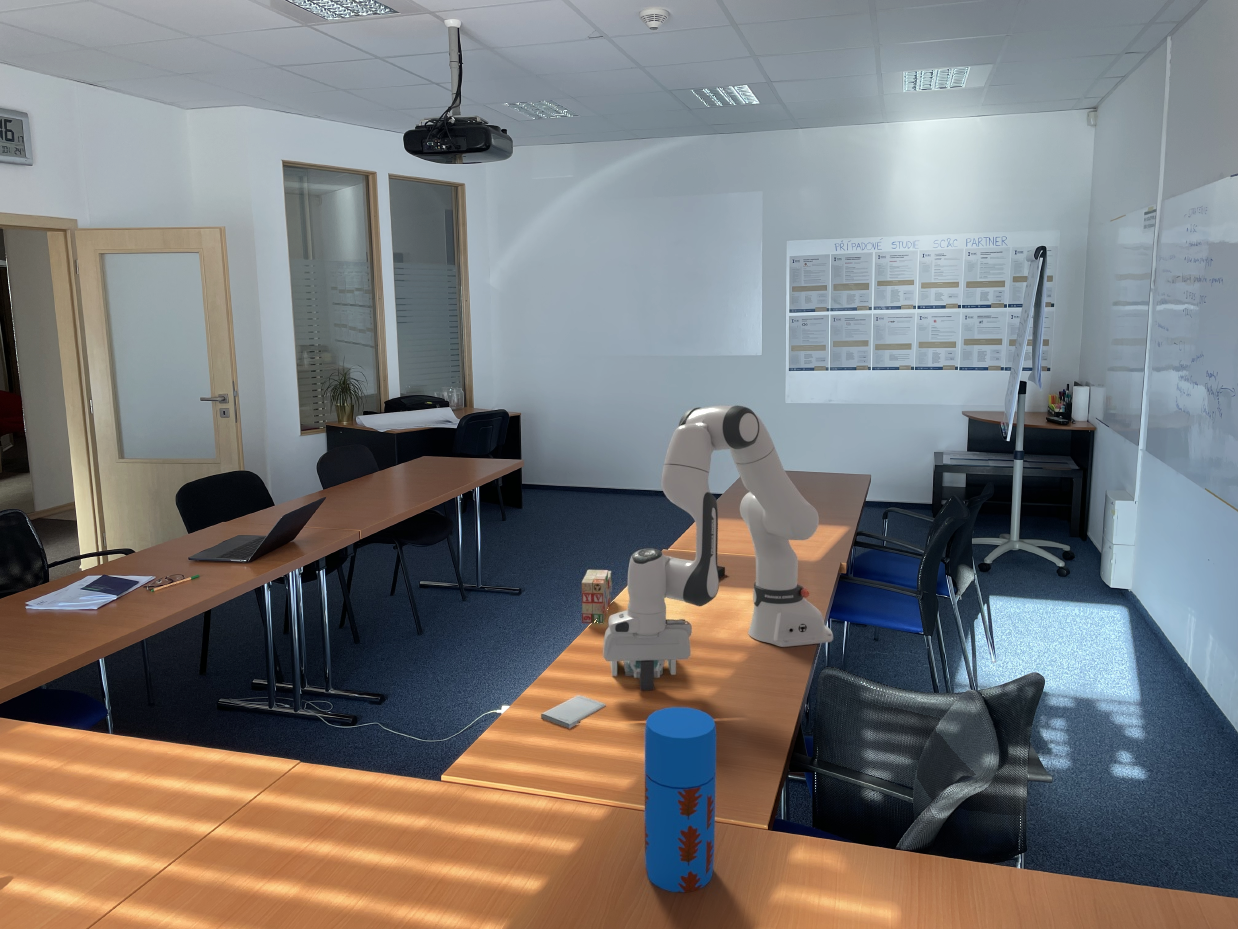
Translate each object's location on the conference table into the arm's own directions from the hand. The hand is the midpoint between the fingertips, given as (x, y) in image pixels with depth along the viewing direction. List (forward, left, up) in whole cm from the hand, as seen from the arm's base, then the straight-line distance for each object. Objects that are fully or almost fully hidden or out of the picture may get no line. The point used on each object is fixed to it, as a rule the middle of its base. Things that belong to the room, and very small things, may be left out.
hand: (646, 677), depth 205 cm
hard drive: (+17, +11, -4) cm, 21 cm away
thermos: (+1, +68, -3) cm, 68 cm away
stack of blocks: (+10, -56, -4) cm, 57 cm away
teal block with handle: (0, -9, -3) cm, 9 cm away
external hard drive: (-22, -84, -4) cm, 87 cm away
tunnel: (0, -13, -3) cm, 14 cm away
